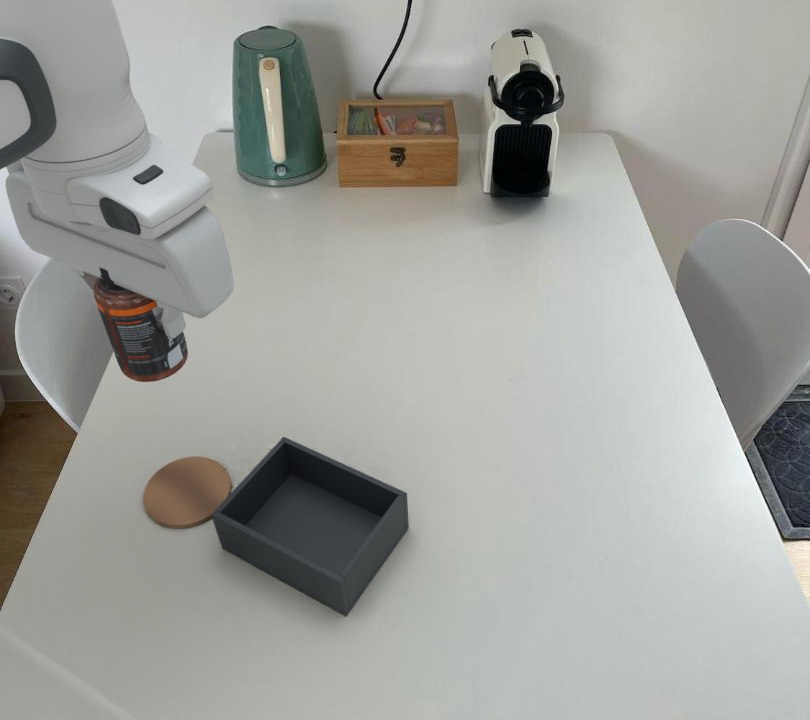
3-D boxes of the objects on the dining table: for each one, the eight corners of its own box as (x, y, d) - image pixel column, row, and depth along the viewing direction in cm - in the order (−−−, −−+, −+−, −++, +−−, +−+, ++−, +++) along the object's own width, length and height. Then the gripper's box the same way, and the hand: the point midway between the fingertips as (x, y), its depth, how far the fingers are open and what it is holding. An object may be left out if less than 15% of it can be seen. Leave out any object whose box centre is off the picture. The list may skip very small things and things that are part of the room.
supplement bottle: (200, 367, 70) (171, 260, 63) (135, 395, 68) (96, 287, 60) (174, 331, 74) (144, 226, 66) (111, 357, 72) (72, 251, 64)
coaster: (191, 542, 80) (190, 538, 80) (126, 506, 84) (124, 502, 83) (249, 480, 86) (248, 476, 85) (185, 448, 89) (184, 444, 89)
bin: (346, 616, 74) (340, 583, 70) (221, 549, 79) (210, 514, 76) (409, 527, 81) (407, 492, 77) (290, 471, 86) (283, 436, 83)
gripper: (-37, 155, 60) (26, 301, 70) (165, 227, 52) (207, 382, 62) (31, 121, 64) (82, 263, 74) (229, 183, 56) (259, 334, 66)
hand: (141, 318), depth 68 cm, fingers closed on supplement bottle, 6 cm apart
